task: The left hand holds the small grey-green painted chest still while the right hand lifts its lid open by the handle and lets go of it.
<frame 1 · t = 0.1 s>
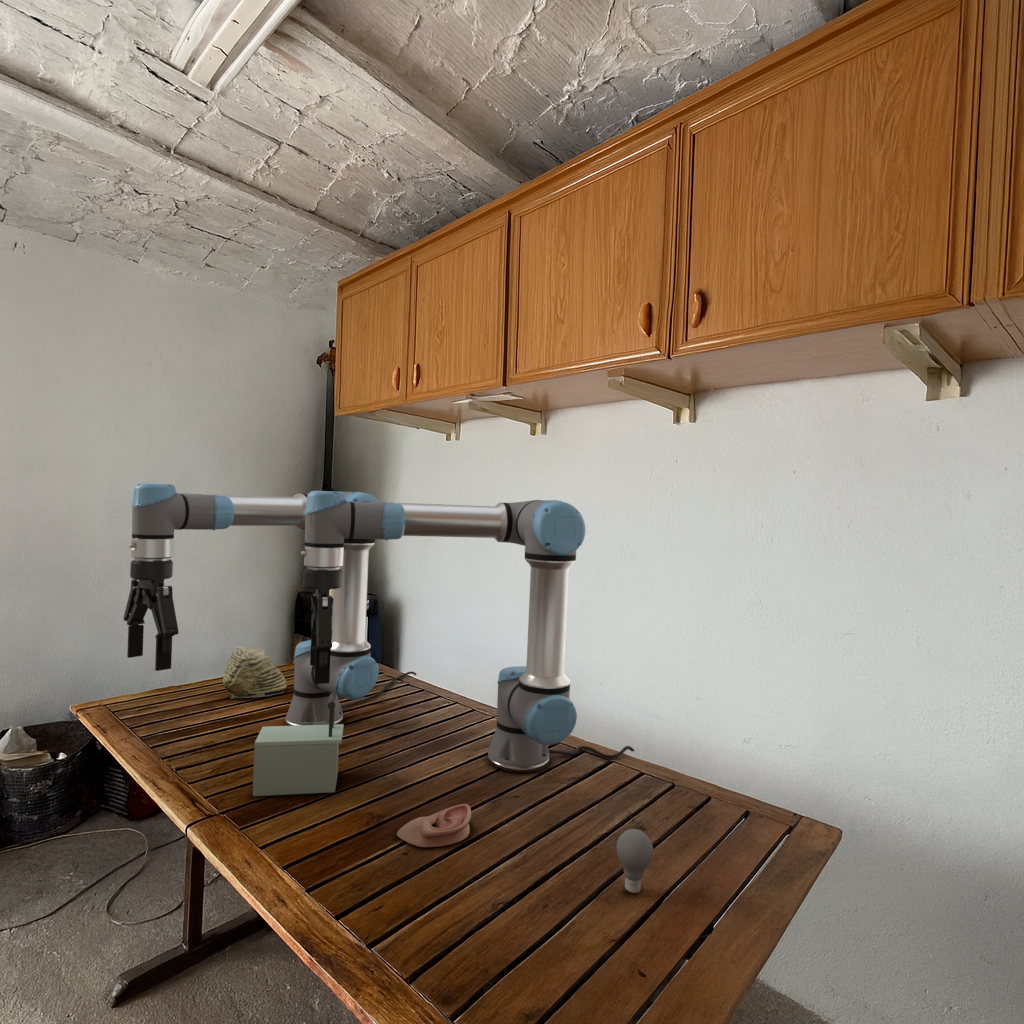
left hand: (148, 662, 129), 28 cm above the table, tool pointing down, fingers open, 13 cm apart
right hand: (319, 673, 127), 28 cm above the table, tool pointing down, fingers open, 13 cm apart
anatomical model: (434, 833, 121), on the table
fossil: (254, 694, 198), on the table
light bulb: (632, 891, 106), on the table
lid: (301, 717, 139), point 15 cm above the table, hinge at 0.0°
chest: (297, 784, 139), on the table
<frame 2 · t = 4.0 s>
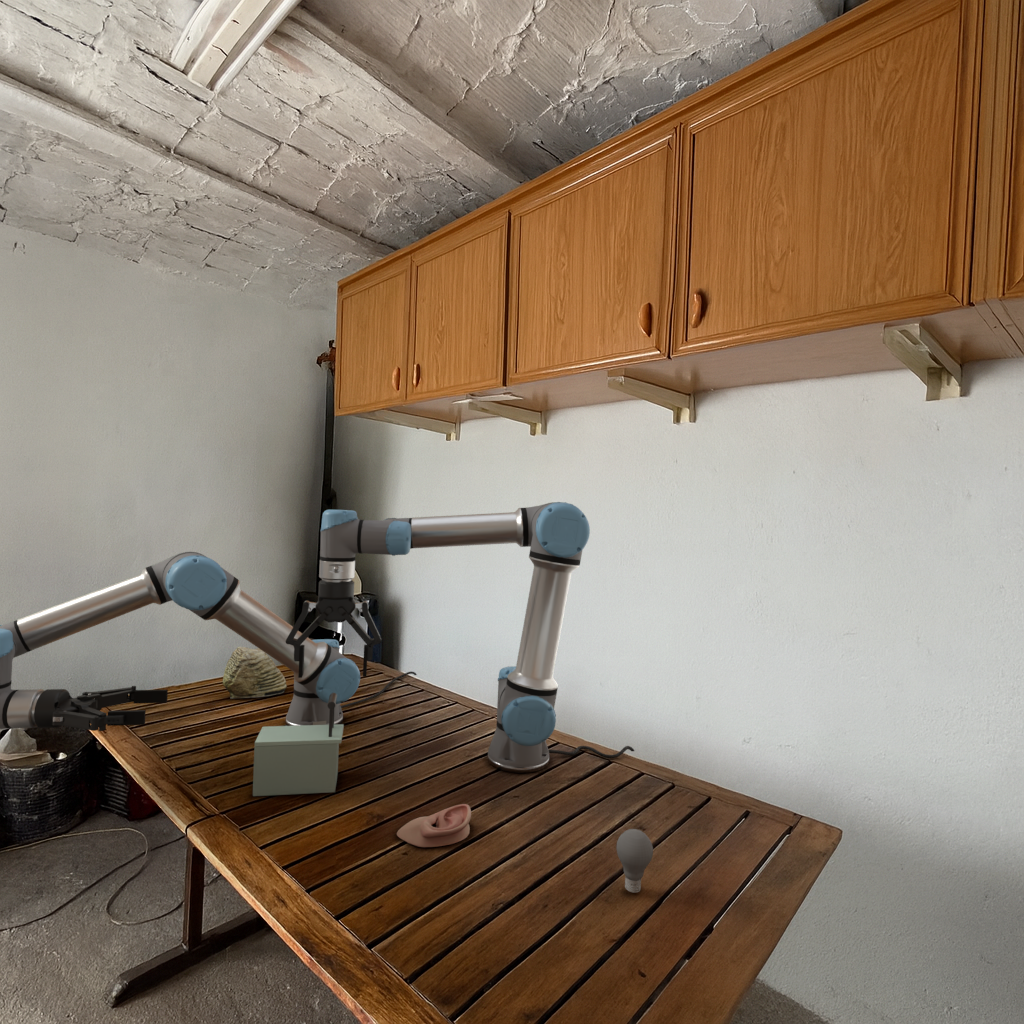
left hand: (156, 706, 133), 18 cm above the table, tool horizontal, fingers open, 13 cm apart
right hand: (333, 675, 140), 24 cm above the table, tool pointing down, fingers open, 13 cm apart
nothing on the table moved.
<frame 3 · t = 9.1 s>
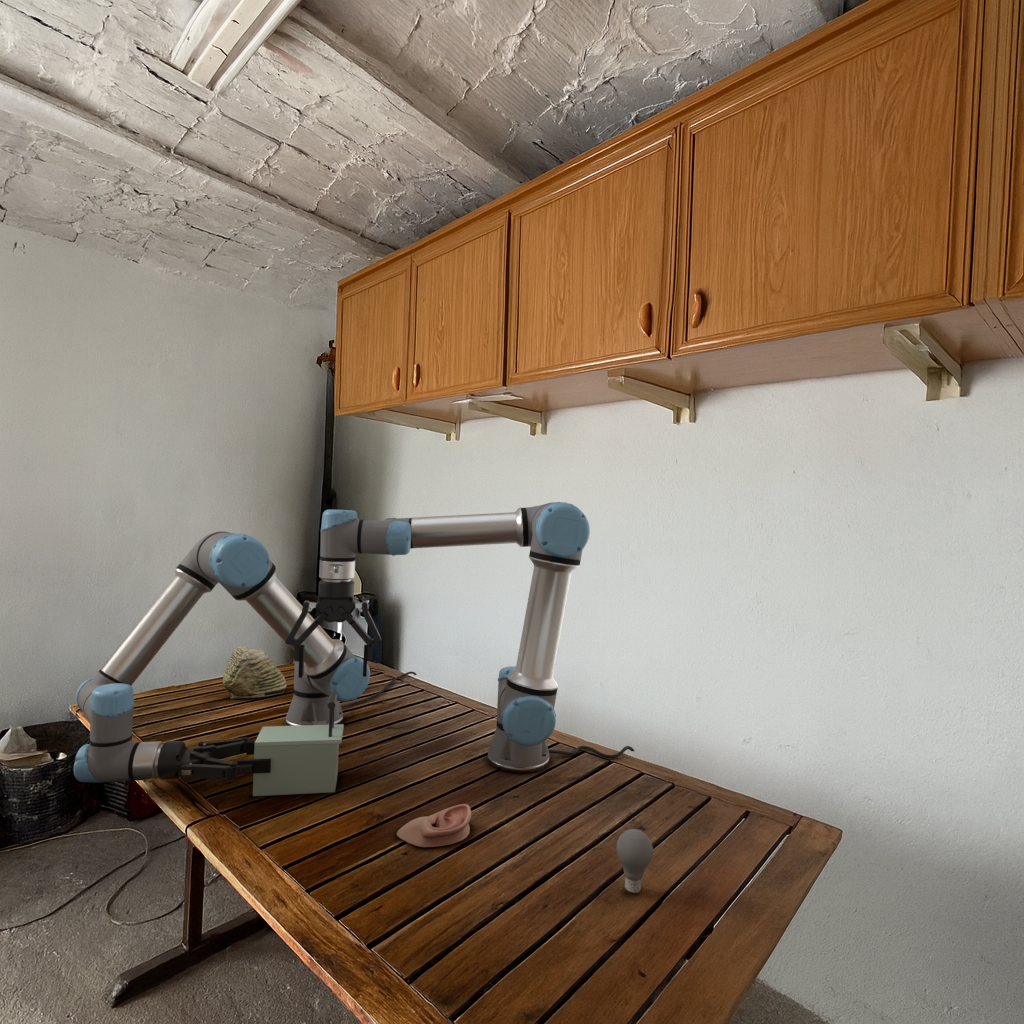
left hand: (274, 756, 138), 7 cm above the table, tool horizontal, fingers closed on chest, 9 cm apart
right hand: (333, 675, 140), 24 cm above the table, tool pointing down, fingers open, 13 cm apart
chest: (297, 784, 139), on the table, touching left hand
everything else where it was.
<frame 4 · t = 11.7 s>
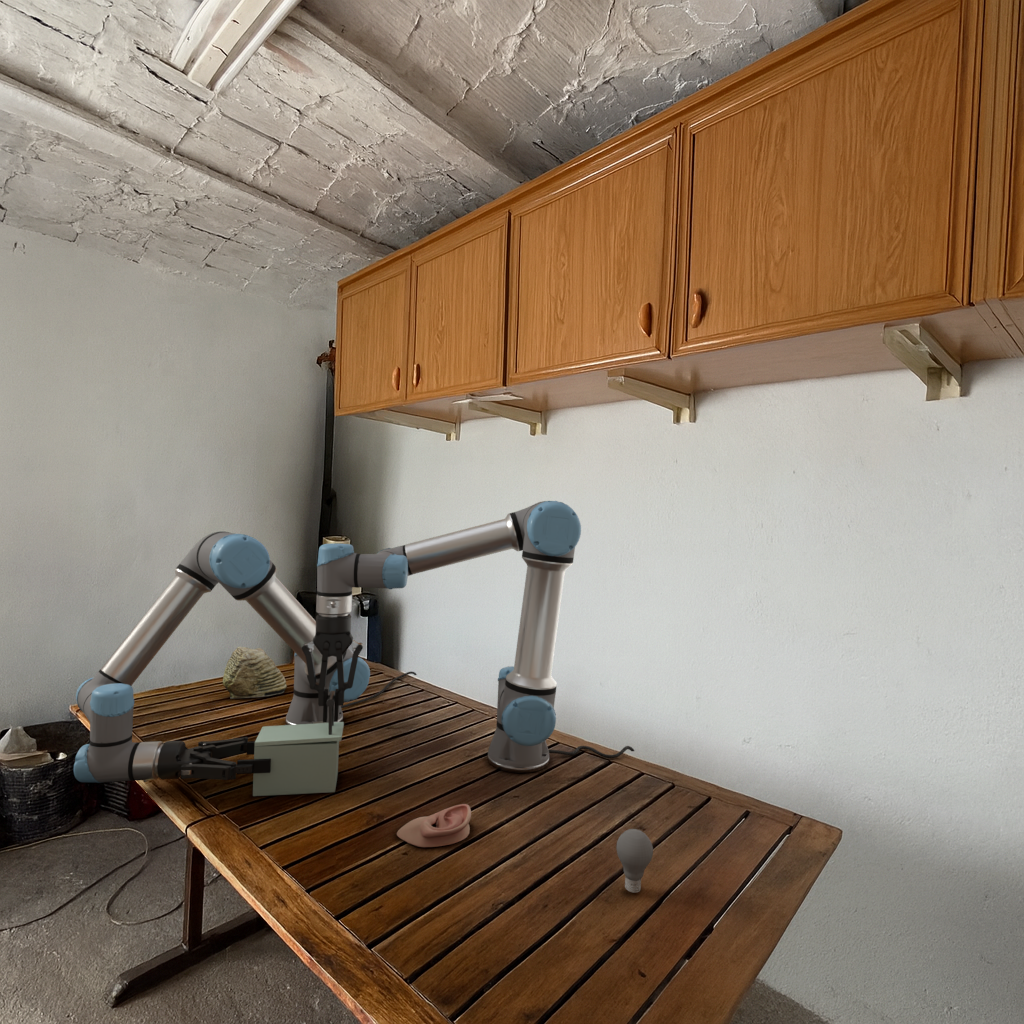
left hand: (274, 756, 138), 7 cm above the table, tool horizontal, fingers closed on chest, 9 cm apart
right hand: (330, 719, 140), 14 cm above the table, tool pointing down, fingers closed on lid, 2 cm apart
lid: (301, 715, 139), point 15 cm above the table, hinge at 1.8°, touching right hand
chest: (297, 784, 139), on the table, touching left hand
everything else where it was.
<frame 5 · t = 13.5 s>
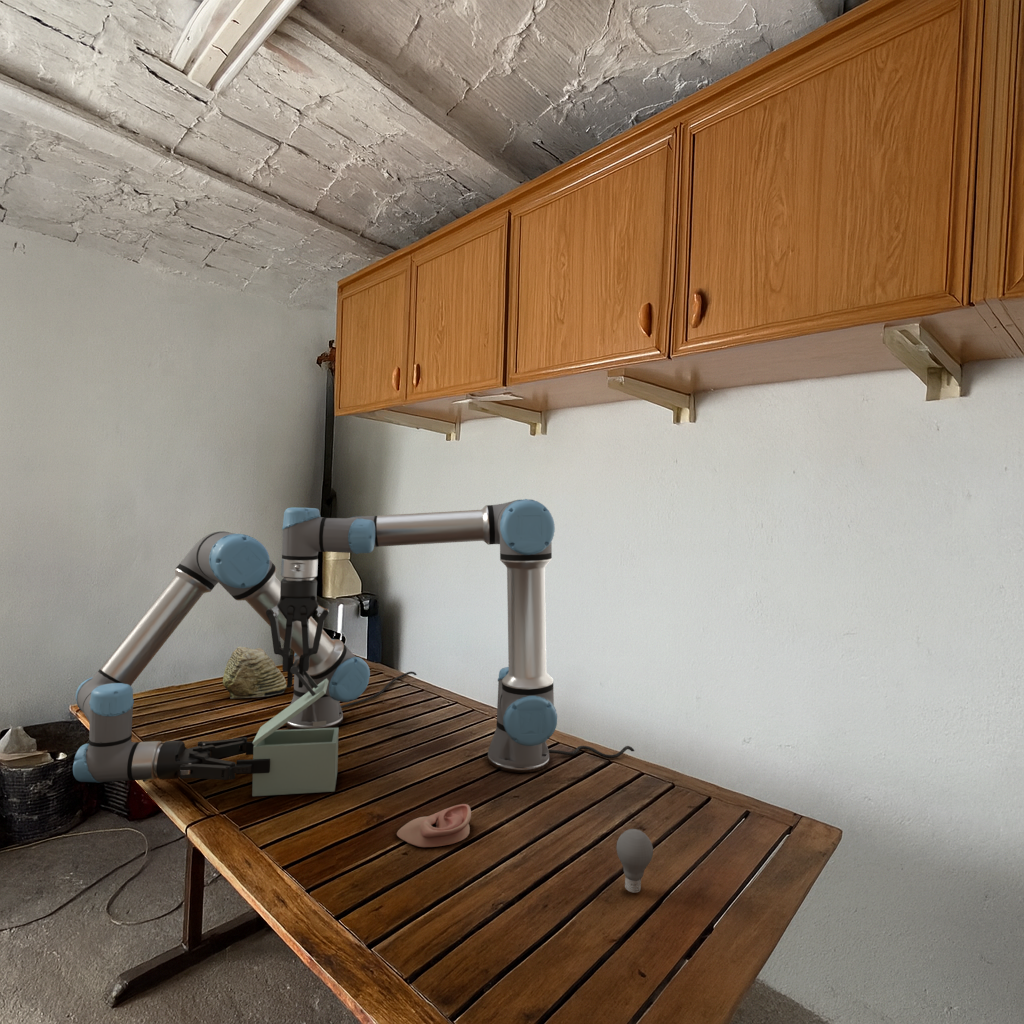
left hand: (273, 756, 138), 6 cm above the table, tool horizontal, fingers closed on chest, 9 cm apart
right hand: (295, 685, 138), 22 cm above the table, tool pointing down, fingers closed on lid, 2 cm apart
lid: (281, 697, 138), point 19 cm above the table, hinge at 37.2°, touching right hand
chest: (296, 784, 139), on the table, touching left hand
everything else where it was.
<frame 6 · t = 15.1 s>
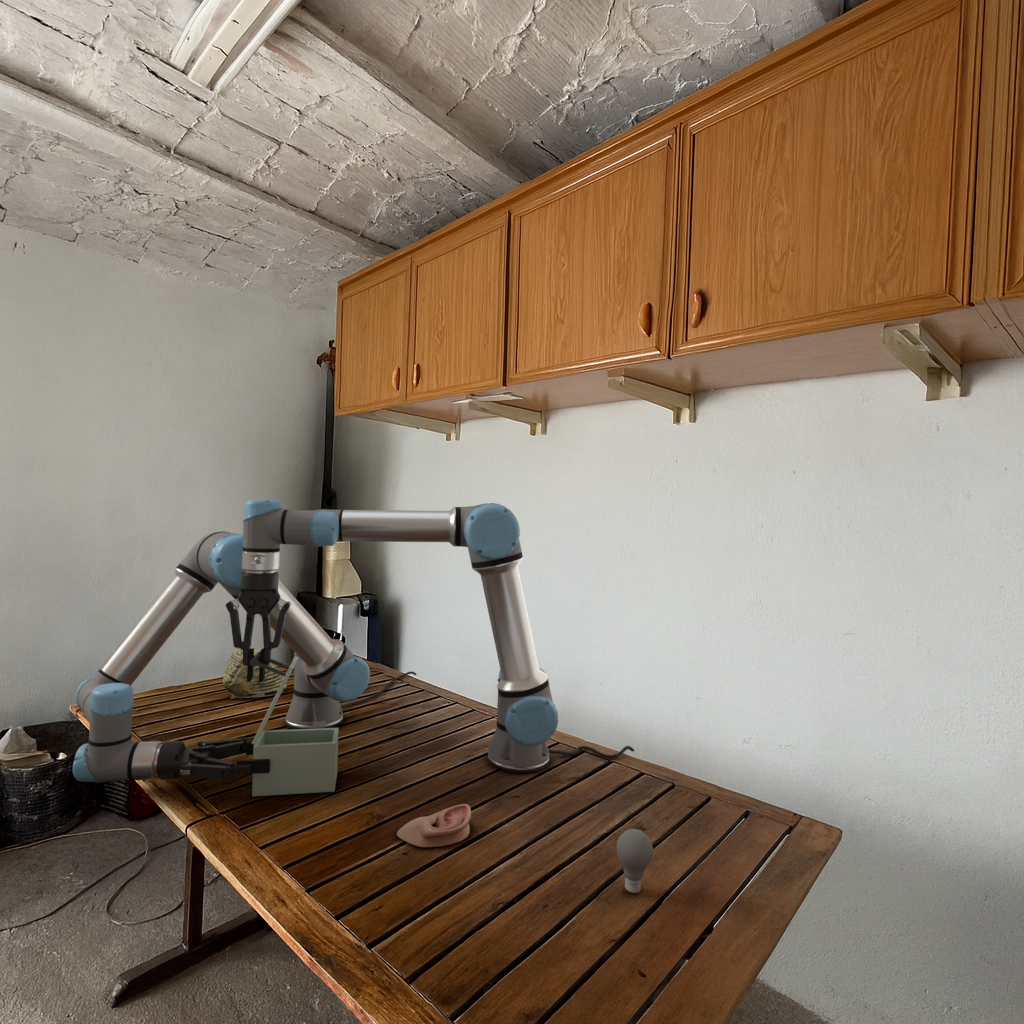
left hand: (273, 756, 138), 6 cm above the table, tool horizontal, fingers closed on chest, 9 cm apart
right hand: (255, 679, 137), 23 cm above the table, tool pointing down, fingers closed
lid: (258, 692, 137), point 21 cm above the table, hinge at 66.0°
chest: (296, 784, 139), on the table, touching left hand
everything else where it was.
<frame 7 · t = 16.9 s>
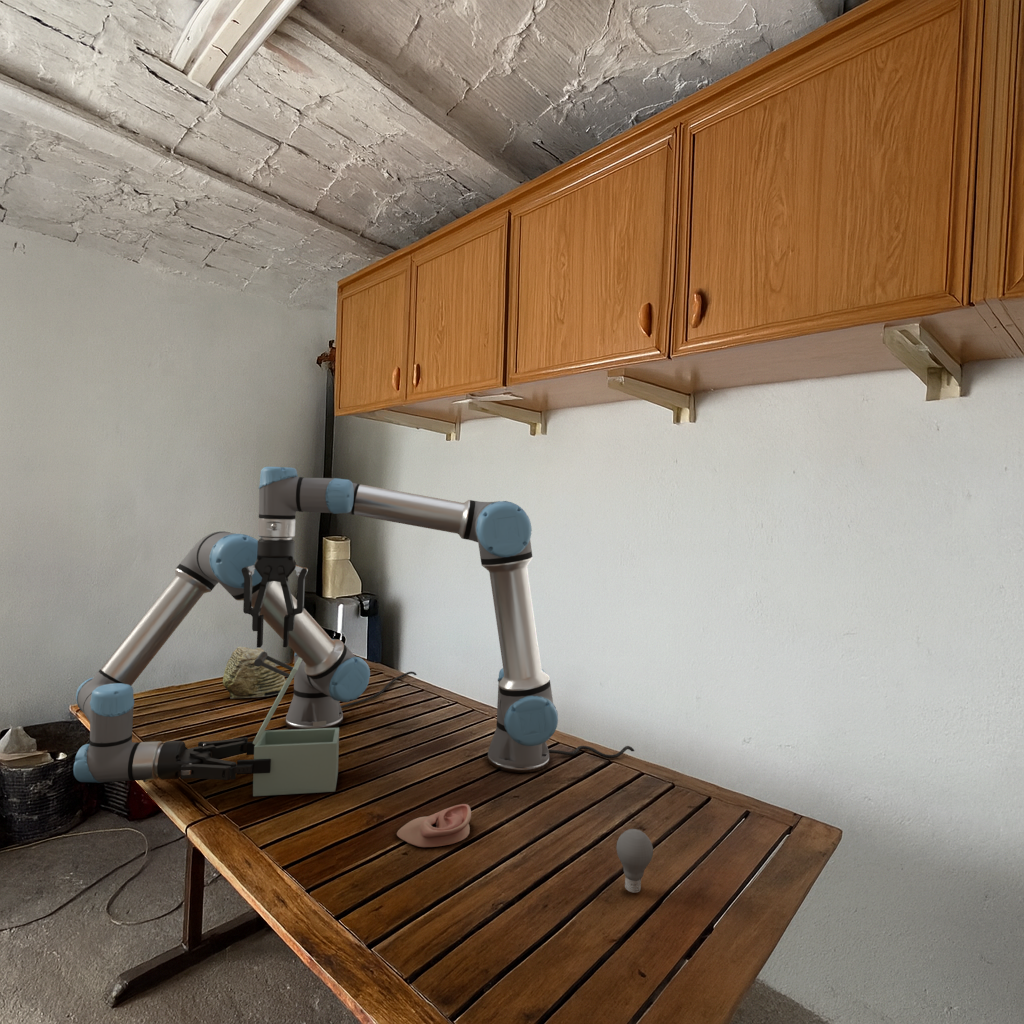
left hand: (274, 756, 138), 6 cm above the table, tool horizontal, fingers closed on chest, 9 cm apart
right hand: (272, 645, 137), 31 cm above the table, tool pointing down, fingers open, 5 cm apart
lid: (261, 692, 137), point 21 cm above the table, hinge at 63.5°
chest: (297, 784, 139), on the table, touching left hand
everything else where it was.
when the left hand's fingers open (6 cm above the table, at t = 19.2 s): chest stays where it is, on the table.
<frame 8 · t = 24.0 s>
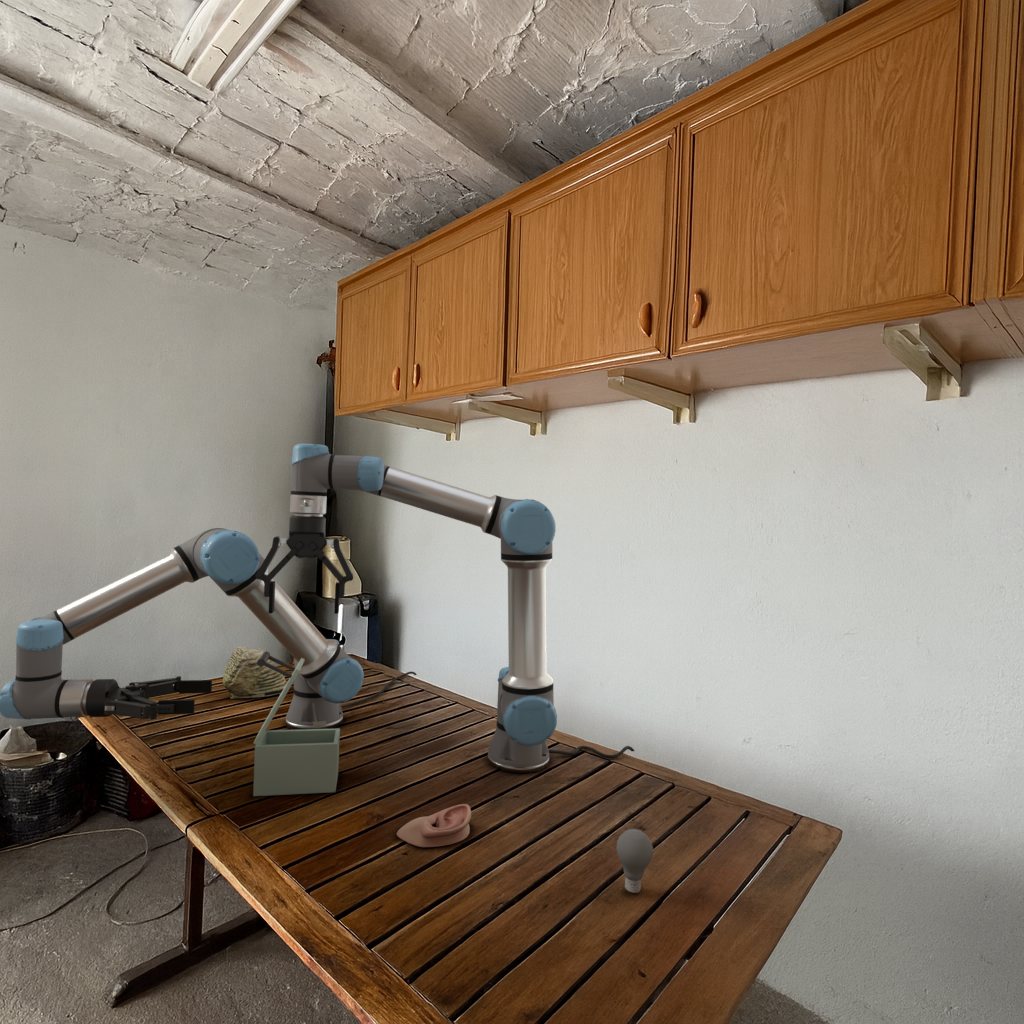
left hand: (203, 695, 134), 20 cm above the table, tool horizontal, fingers open, 13 cm apart
right hand: (304, 612, 138), 38 cm above the table, tool pointing down, fingers open, 13 cm apart
lid: (263, 692, 137), point 21 cm above the table, hinge at 62.9°
chest: (297, 784, 139), on the table
everything else where it was.
at the end: lid at +63° (first picture: +0°); the left hand is holding nothing; the right hand is holding nothing; chest tilted 0°; chest never tilted more than 1° during the clip; chest moved 0.1 cm from its start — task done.
